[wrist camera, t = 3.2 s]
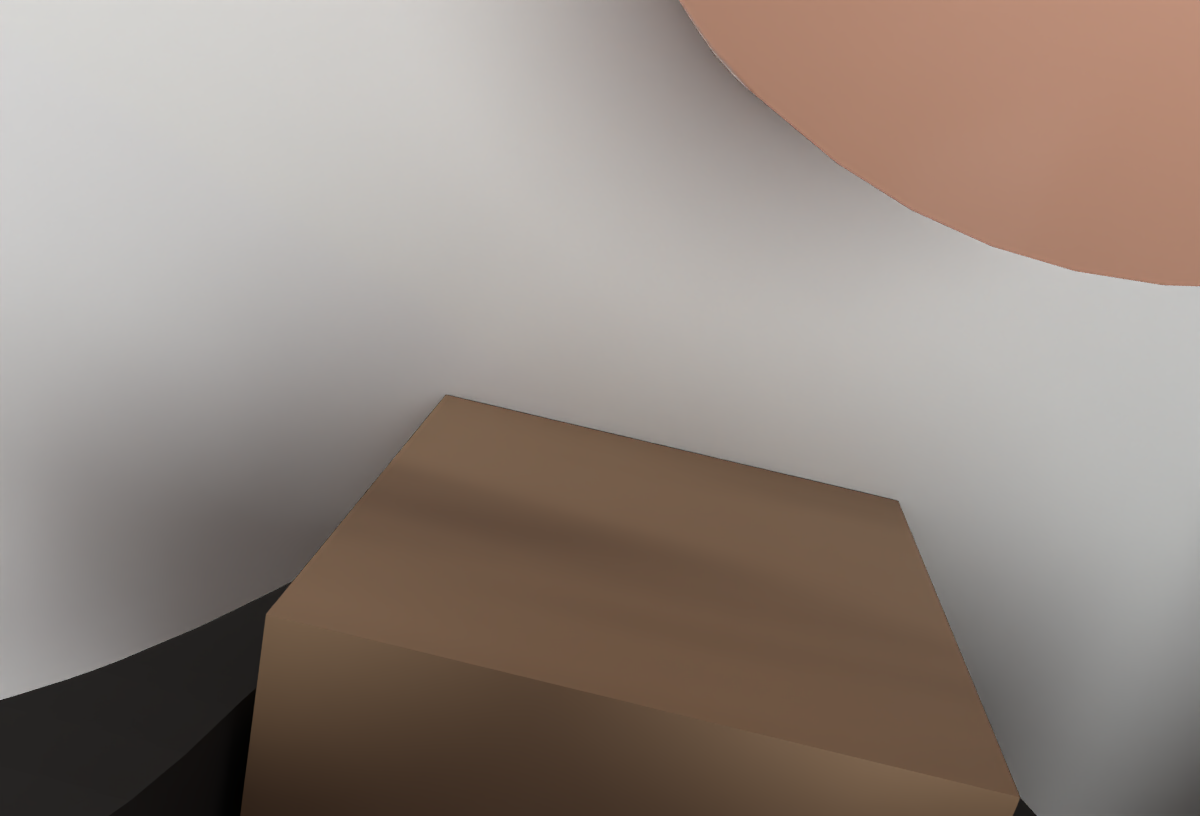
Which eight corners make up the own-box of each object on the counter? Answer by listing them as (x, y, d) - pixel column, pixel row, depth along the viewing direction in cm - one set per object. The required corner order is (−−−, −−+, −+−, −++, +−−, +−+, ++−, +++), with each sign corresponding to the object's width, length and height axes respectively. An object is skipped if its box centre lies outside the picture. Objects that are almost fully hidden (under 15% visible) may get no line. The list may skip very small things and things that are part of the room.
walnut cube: (778, 871, 13) (811, 1320, 9) (379, 773, 13) (195, 1159, 9) (897, 501, 12) (1019, 796, 7) (446, 395, 12) (266, 614, 7)
